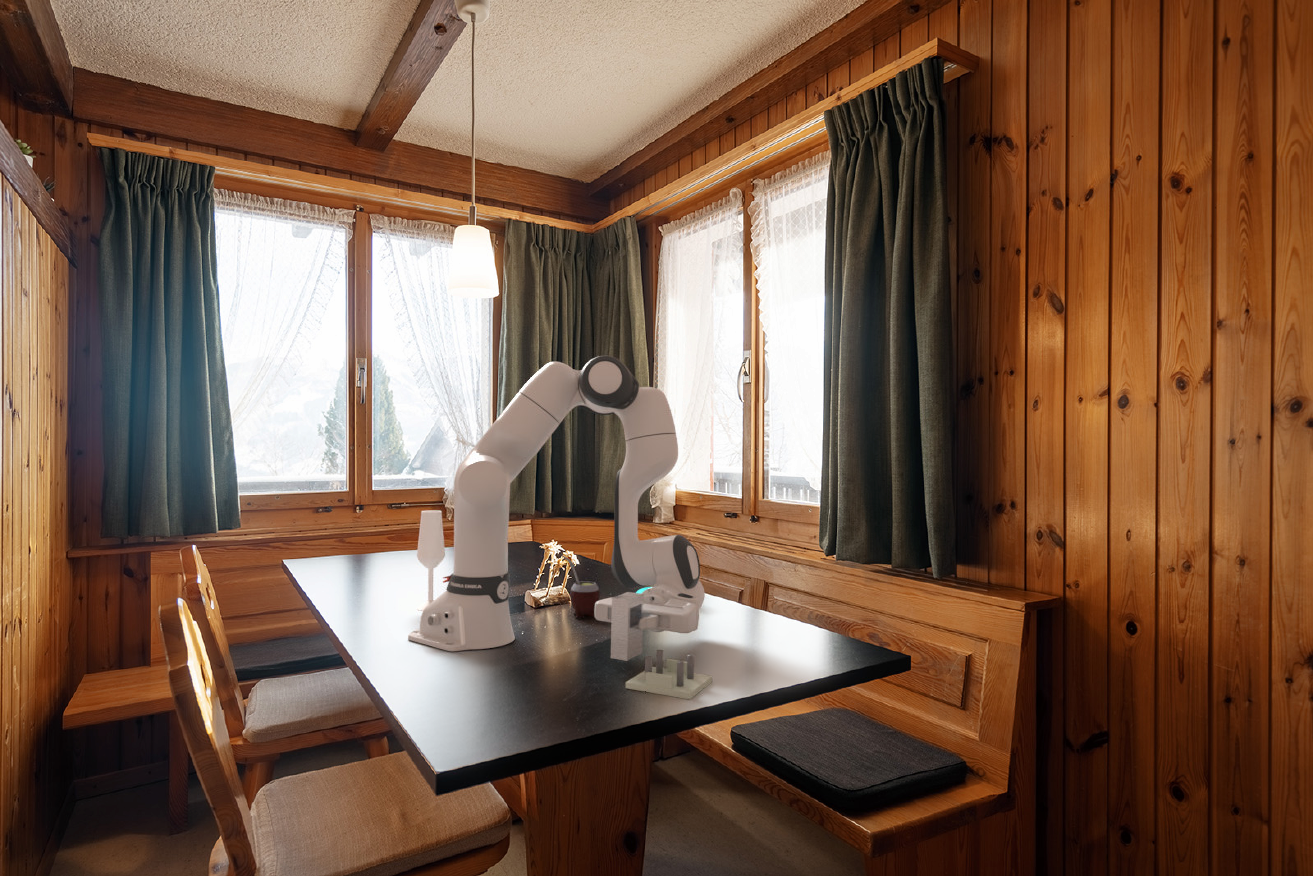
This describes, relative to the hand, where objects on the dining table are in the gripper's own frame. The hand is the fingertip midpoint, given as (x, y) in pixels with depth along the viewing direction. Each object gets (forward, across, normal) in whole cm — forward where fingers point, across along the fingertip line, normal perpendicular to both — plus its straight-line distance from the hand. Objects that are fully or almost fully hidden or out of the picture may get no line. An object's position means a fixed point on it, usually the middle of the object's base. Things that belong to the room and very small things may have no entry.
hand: (626, 623), depth 139 cm
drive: (0, 0, +6) cm, 6 cm away
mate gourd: (-32, -29, +9) cm, 44 cm away
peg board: (+3, +10, +9) cm, 14 cm away
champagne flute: (-22, -66, +10) cm, 71 cm away
